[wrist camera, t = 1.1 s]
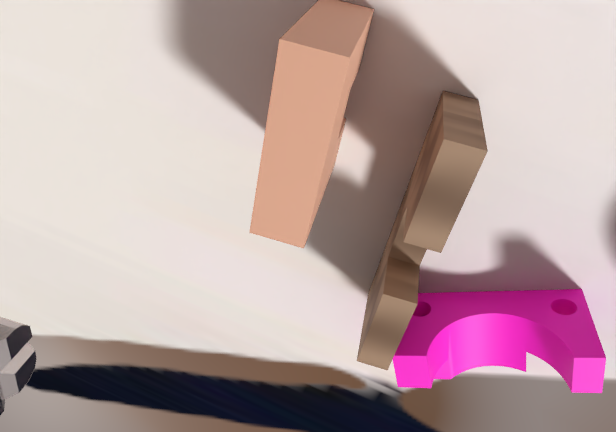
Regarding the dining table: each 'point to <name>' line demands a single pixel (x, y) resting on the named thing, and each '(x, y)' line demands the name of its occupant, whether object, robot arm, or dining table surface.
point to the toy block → (500, 336)
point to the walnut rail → (422, 222)
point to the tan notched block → (307, 117)
